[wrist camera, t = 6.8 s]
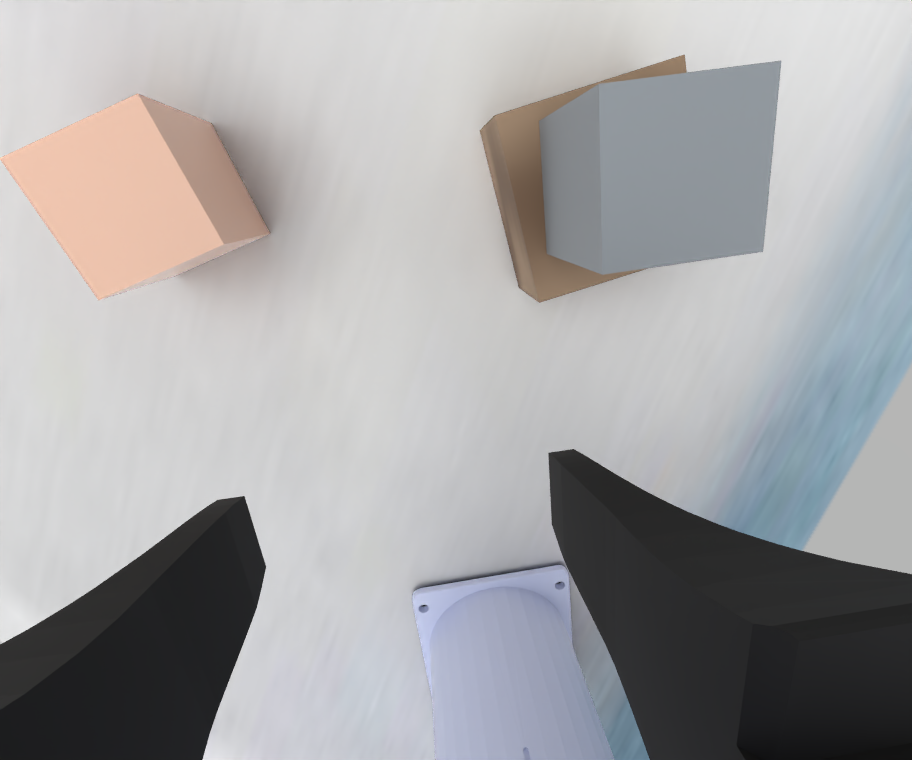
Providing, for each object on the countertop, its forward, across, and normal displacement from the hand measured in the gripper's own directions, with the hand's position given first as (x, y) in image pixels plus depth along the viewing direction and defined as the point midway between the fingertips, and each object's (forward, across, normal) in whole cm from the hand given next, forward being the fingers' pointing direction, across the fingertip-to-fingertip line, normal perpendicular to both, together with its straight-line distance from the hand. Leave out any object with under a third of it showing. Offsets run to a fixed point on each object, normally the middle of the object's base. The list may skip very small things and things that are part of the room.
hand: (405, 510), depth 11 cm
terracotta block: (+10, +7, -8) cm, 14 cm away
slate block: (+7, -7, -7) cm, 12 cm away
